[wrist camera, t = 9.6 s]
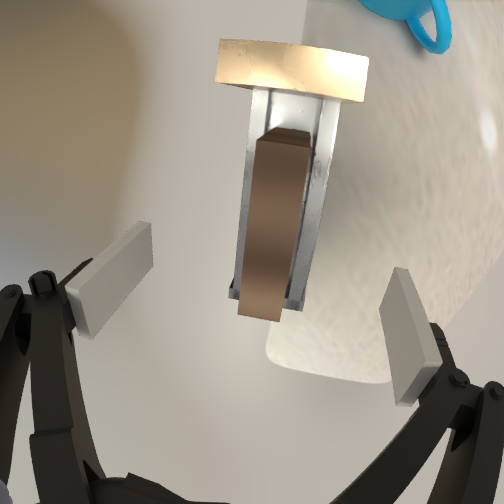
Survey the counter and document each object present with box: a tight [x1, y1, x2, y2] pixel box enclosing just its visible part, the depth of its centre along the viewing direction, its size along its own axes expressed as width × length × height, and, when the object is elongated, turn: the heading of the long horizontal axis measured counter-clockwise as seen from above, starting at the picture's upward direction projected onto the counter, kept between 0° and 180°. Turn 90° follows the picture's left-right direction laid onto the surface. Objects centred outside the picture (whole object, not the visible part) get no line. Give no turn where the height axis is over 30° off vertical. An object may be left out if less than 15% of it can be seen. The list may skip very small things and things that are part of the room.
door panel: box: [238, 127, 311, 322], centre depth 24 cm, size 12×3×10 cm, turn 174°
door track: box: [215, 39, 369, 311], centre depth 23 cm, size 22×7×12 cm, turn 174°
